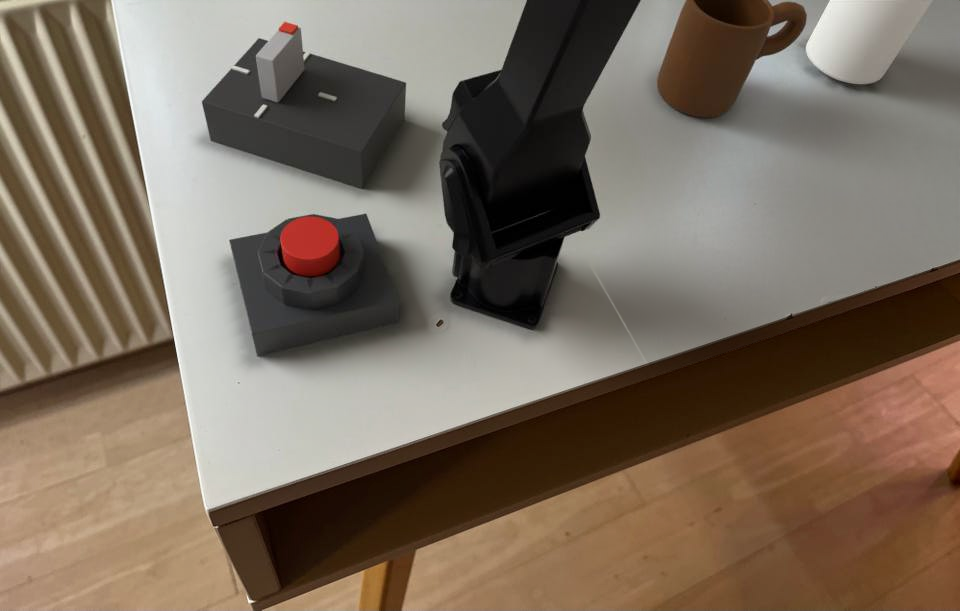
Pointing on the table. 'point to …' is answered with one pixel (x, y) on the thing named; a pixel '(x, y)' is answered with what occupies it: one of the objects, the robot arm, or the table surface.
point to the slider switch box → (309, 117)
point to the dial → (280, 62)
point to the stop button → (310, 246)
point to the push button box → (314, 288)
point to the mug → (722, 50)
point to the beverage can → (862, 37)
